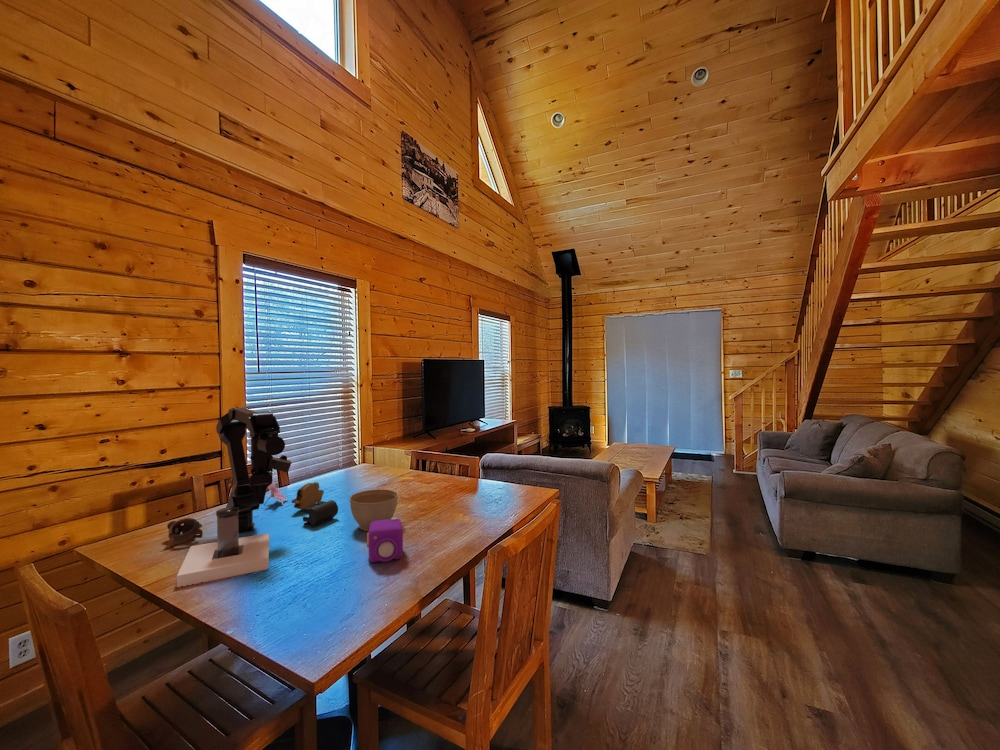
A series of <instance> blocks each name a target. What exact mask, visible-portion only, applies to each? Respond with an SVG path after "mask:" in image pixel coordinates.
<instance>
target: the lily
mask: <svg viewBox="0 0 1000 750" xmlns="http://www.w3.org/2000/svg"><path fill="white" fill-rule="evenodd" d="M267 489H269V490H270V496H269V497H268V498H267V499H266V501H265V502H264V503H263V507H264V506H266V504H267V503H268V501H269V500H270V499H271V498H275V499H277V500H278V501H279V502H280V503H281V504H282V506H284V502H283V500H285V501H287V502H288V499H287V497H286V496H285V494H283V493H281V490H280V489H279V488H278V487H276V484H275V483H274V482H273V481H272V484H271V485H269V486H268V487H267Z"/></svg>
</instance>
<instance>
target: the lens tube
mask: <svg viewBox="0 0 1000 750" xmlns="http://www.w3.org/2000/svg"><path fill="white" fill-rule="evenodd" d="M238 512H239V507H223V508H219V509H218V510H216V512H215V514H216V515H215V516H216V525H217V526H216V532H217V538H216V539H217V541H216V542H218V558H223V557H229V556H234V555H239V538H240V537H239V533H240V532H238Z"/></svg>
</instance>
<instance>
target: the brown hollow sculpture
mask: <svg viewBox="0 0 1000 750" xmlns="http://www.w3.org/2000/svg"><path fill="white" fill-rule="evenodd" d="M166 527H167V529H168V533H167V534H168V538H169V540H168V545H169V546H170V545H171V546H173V547H175V545H178V544H181V543H185V542H188V541H189V539H192V538H194V537H195V536H196V535H198V534H200V535H202V536H203V532H204V531H203V530H202V529H201V528H202V527H203V524H201V523H200V522H199V521H198V520H196V519H195V518H193V517H185V518H181V519H179V520H171V521H170V522H169V523H167V525H166ZM200 535H199V536H200ZM171 546H170V547H171Z"/></svg>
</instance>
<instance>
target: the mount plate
mask: <svg viewBox="0 0 1000 750" xmlns="http://www.w3.org/2000/svg"><path fill="white" fill-rule="evenodd" d="M269 558H270V533H269V532H268V533H267V532H266V533H261V534H256V535H249V536H243V537H239V555H234V556H229V557H223V558H218V542H217V541H215V542H214V541H213V542H209V543H202V544H196V545H191V546H190V547H189V550H188V551H187V554H186V556H185V558H184V559H183V562H182V564H181V566H180V569H179V571H178V572H177V574H176V588H177V587H178V588H182V587H181V586H183V587H187V585H188V586H192V584H193V585H196V584H197V585H198V584H202V583H201V582H203V583H206V582H211V581H216V580H221V579H226V578H231V577H235V576H241V575H246V574H249V573H251V574H252V573H254V572H255V573H256V572H259V571H260V572H261V571H265V570H269V564H270V563H269V561H270V559H269Z"/></svg>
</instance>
